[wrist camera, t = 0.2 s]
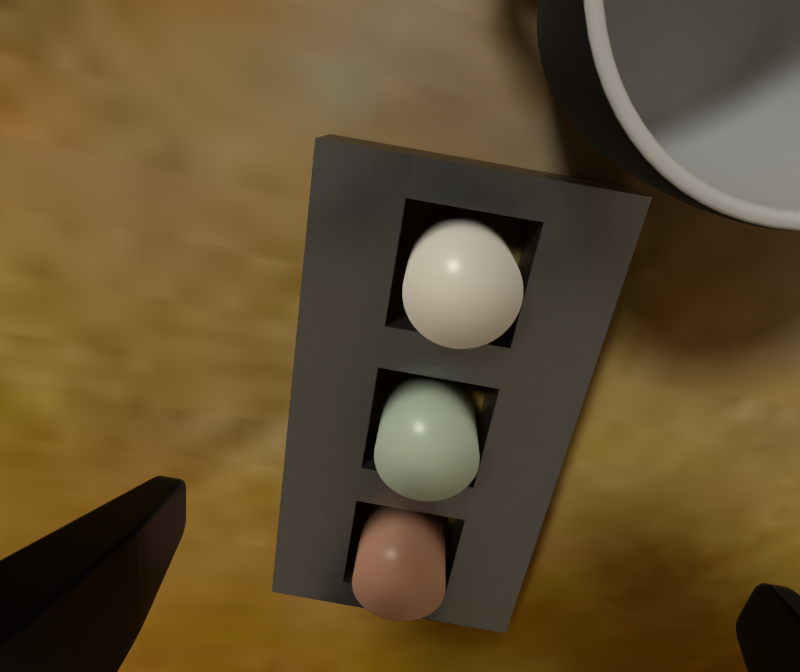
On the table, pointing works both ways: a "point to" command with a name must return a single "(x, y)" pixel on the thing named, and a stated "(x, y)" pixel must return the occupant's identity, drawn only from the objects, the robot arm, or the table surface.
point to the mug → (686, 96)
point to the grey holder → (442, 364)
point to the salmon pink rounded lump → (400, 564)
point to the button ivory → (461, 283)
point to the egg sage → (427, 439)
